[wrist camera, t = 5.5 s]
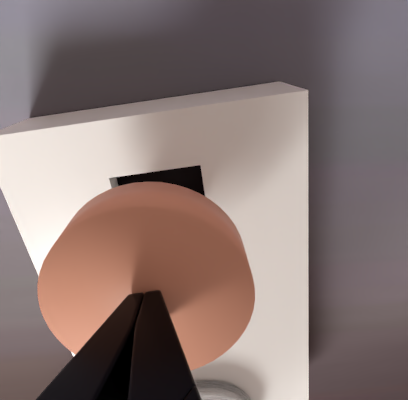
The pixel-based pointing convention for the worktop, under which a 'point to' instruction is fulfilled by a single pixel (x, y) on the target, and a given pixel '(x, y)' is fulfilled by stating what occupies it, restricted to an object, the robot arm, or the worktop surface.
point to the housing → (214, 190)
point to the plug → (220, 391)
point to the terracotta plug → (150, 267)
